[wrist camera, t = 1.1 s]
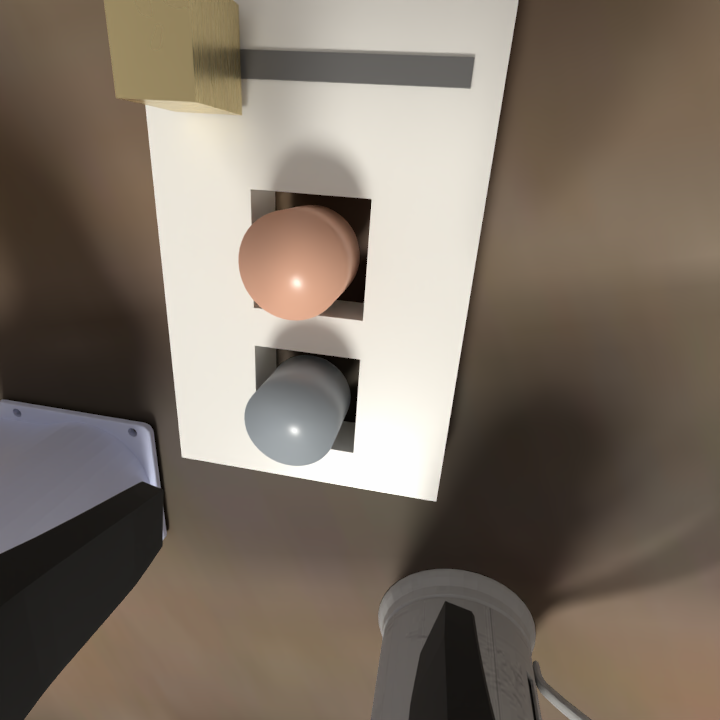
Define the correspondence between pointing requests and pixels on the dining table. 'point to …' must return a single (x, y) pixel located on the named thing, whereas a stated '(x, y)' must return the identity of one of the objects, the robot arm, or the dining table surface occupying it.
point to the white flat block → (345, 179)
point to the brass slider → (176, 54)
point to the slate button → (298, 410)
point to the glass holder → (495, 636)
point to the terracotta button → (298, 260)
